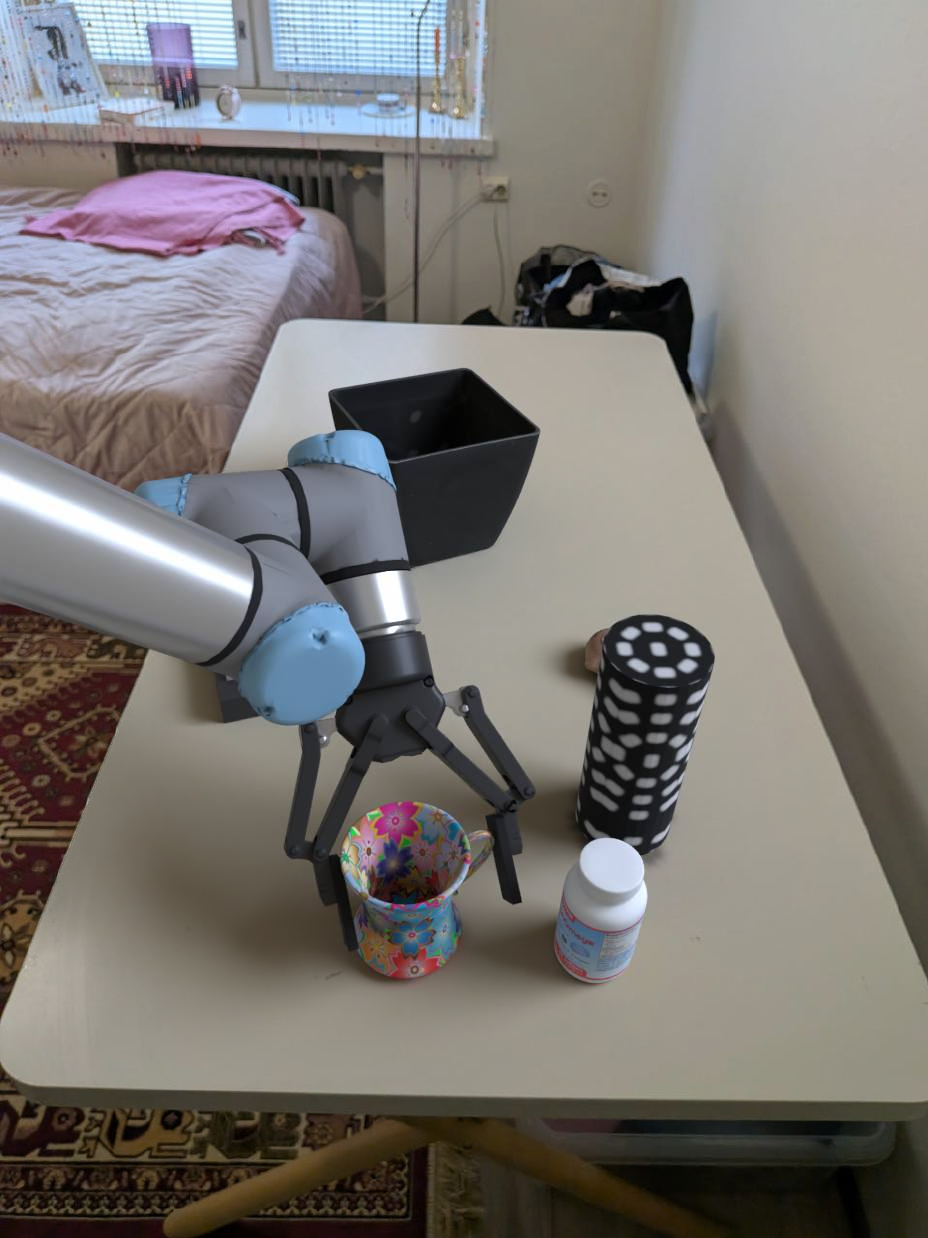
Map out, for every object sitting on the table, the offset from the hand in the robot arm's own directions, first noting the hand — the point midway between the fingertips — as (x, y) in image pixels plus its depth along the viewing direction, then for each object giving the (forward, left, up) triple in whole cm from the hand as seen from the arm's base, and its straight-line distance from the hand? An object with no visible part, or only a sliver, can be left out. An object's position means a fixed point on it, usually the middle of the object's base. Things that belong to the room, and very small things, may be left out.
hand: (434, 923), depth 69 cm
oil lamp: (+28, +25, -5) cm, 38 cm away
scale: (-4, +38, -4) cm, 38 cm away
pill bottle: (+12, -3, -5) cm, 13 cm away
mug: (0, +3, -5) cm, 5 cm away
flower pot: (+17, +56, -5) cm, 58 cm away
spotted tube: (+20, +8, -5) cm, 22 cm away
